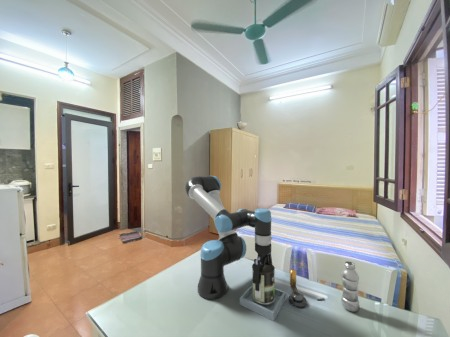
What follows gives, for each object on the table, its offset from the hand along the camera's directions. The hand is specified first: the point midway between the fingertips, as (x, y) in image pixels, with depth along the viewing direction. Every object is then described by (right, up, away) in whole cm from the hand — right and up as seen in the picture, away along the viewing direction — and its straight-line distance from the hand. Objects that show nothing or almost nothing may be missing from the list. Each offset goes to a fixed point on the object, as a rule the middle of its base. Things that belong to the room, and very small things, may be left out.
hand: (263, 290), depth 87 cm
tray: (0, -5, 0) cm, 5 cm away
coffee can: (0, -3, 0) cm, 3 cm away
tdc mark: (+27, -5, +1) cm, 28 cm away
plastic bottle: (+37, -5, -5) cm, 38 cm away
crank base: (+16, -5, 0) cm, 17 cm away
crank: (+16, -4, +3) cm, 17 cm away
